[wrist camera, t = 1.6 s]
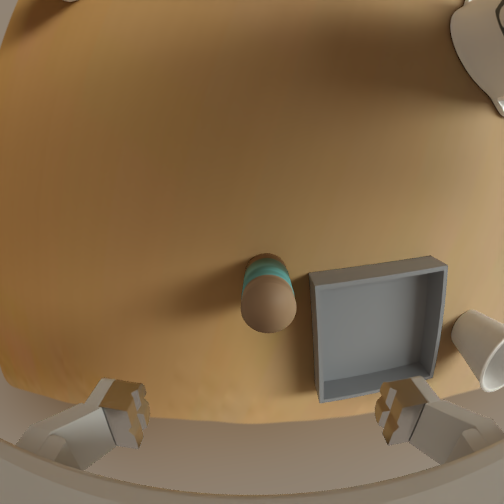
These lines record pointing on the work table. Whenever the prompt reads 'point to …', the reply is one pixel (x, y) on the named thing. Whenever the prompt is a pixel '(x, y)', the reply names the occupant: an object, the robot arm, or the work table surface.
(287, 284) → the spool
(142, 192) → the work table surface
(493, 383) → the dixie cup
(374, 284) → the bin
